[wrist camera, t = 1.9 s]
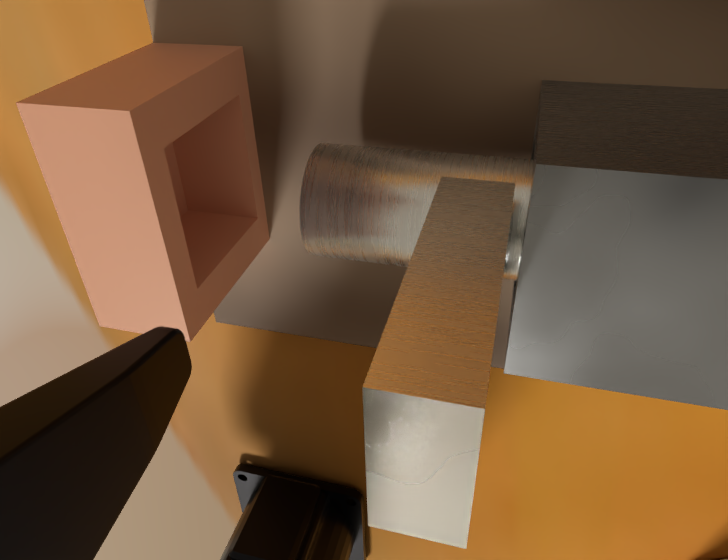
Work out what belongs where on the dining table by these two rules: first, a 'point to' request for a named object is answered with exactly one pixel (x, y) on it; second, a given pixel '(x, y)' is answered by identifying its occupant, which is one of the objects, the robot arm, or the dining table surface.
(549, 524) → the dining table surface
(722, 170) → the sleeve
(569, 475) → the dining table surface
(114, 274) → the socket block
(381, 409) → the tube
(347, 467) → the dining table surface
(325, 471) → the dining table surface
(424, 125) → the grey base plate
